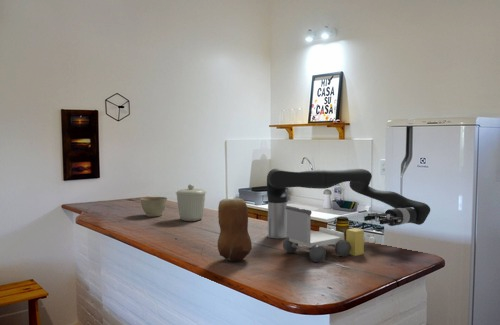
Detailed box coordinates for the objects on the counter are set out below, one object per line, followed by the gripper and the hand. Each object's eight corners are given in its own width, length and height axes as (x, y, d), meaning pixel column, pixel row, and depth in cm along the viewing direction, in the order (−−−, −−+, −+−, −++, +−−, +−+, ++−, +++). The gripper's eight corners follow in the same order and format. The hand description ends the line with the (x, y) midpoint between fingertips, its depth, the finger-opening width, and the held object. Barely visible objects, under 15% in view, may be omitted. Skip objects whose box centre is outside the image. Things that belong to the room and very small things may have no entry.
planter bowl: (172, 214, 274) (172, 197, 273) (154, 219, 260) (154, 201, 260) (154, 212, 282) (153, 195, 282) (135, 216, 269) (135, 199, 268)
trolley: (312, 264, 167) (312, 211, 166) (281, 253, 183) (281, 205, 182) (350, 255, 179) (351, 206, 177) (318, 245, 195) (319, 200, 193)
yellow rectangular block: (355, 255, 178) (355, 231, 178) (346, 253, 183) (346, 229, 182) (363, 253, 181) (363, 230, 180) (354, 251, 185) (354, 228, 185)
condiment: (347, 246, 194) (347, 219, 193) (329, 244, 198) (329, 218, 197) (351, 242, 200) (352, 217, 199) (334, 240, 204) (334, 215, 204)
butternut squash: (233, 253, 182) (232, 194, 181) (258, 259, 174) (258, 197, 172) (210, 261, 172) (209, 198, 170) (235, 267, 163) (234, 201, 162)
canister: (172, 218, 262) (171, 183, 261) (201, 215, 270) (200, 182, 268) (180, 223, 246) (180, 186, 244) (210, 221, 253) (210, 185, 252)
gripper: (384, 206, 201) (360, 209, 193) (410, 210, 189) (386, 214, 181) (384, 222, 202) (359, 225, 193) (410, 227, 190) (385, 231, 181)
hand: (372, 220), depth 187 cm, fingers open, 8 cm apart
